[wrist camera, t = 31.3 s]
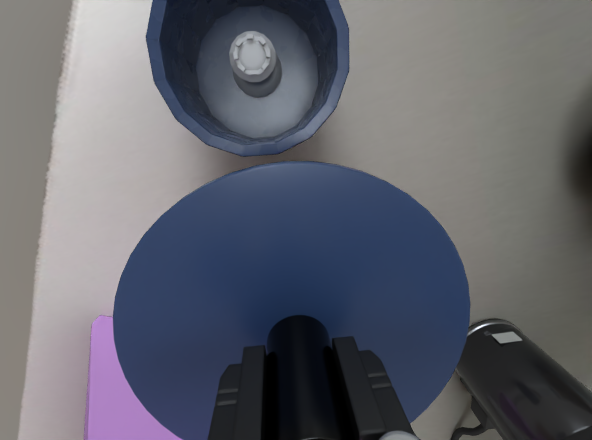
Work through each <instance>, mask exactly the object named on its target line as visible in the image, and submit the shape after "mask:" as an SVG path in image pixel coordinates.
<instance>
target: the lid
mask: <svg viewBox="0 0 592 440" xmlns="http://www.w3.org/2000/svg"><path fill="white" fill-rule="evenodd" d="M469 322H470V296H469V287H468V281H467V278H466V274H465V270H464V266H463V263H462V261H461V259H460V257H459V254H458V252H457V250H456V248H455V245H454V244H453V242H452V241H451V239H450V238H449V236H448V234H447V233H446V231H445V230H444V228H443V227H442V226H441V225H440V223H439V222H438V221H437V220H436V219H435V218H434V217H433V216H432V215H431V213H430V212H429V211H428V210H427V209H426V208H424V207H423V206H422V205H421V204H419V203H418V202H417V201H416V200H415V199H413V198H412V197H411V196H410V195H408V194H407V193H405V192H403V191H401V190H400V189H398V188H396V187H395V186H393V185H391V184H390V183H388V182H386V181H384V180H382V179H380V178H377V177H375V176H373V175H370V174H368V173H365V172H363V171H360V170H356V169H353V168H349V167H345V166H341V165H337V164H330V163H322V162H314V161H283V162H276V163H269V164H262V165H256V166H252V167H249V168H245V169H242V170H238V171H235V172H231V173H229V174H227V175H224V176H222V177H220V178H217V179H215V180H213V181H210V182H208V183H206V184H204V185H203V186H201V187H199V188H198V189H196V190H195V191H193V192H191V193H190V194H188V195H186V196H185V197H183V198H182V199H181V200H180V201H178V202H177V203H176V204H175V205H174V206H172V207H171V208H170V209H169V210H168V211H166V212H165V213H164V214H163V215H162V216H161V217H160V218H159V219H158V220H157V221H156V222H155V223H154V224H153V225H152V226H151V228H150V229H149V230H148V231H147V232H146V233H145V234H144V235H143V237H142V238H141V240H140V241H139V243H138V244H137V246H136V247H135V249H134V250H133V252H132V253H131V255H130V257H129V259H128V262H127V264H126V266H125V268H124V270H123V272H122V275H121V278H120V281H119V285H118V288H117V292H116V296H115V302H114V311H113V334H114V343H115V348H116V352H117V357H118V361H119V363H120V366H121V368H122V371H123V374H124V376H125V379H126V380H127V382H128V384H129V386H130V387H131V389H132V391H133V393H134V394H135V396H136V397H137V398H138V400H139V401H140V402H141V404H142V405H143V406H144V407H145V409H146V410H147V411H148V412H149V413H150V414H151V415H152V416H153V417H154V418H155V419H156V420H157V421H158V422H159V423H160V424H161V425H162V426H164V427H165V428H166V429H168V430H169V431H170V432H172V433H173V434H174V435H176V436H177V437H179V438H180V439H182V440H208V435H209V430H210V425H211V420H212V416H213V411H214V406H215V401H216V396H217V393H218V392H217V391H218V386H219V381H220V377H221V376H222V374H223V373H224V371H225V370H226V368H227V367H228V365H231V364H240V363H242V356H243V349H244V347H249V346H258V345H265V348H266V355H267V362H266V399H265V436H264V440H355V436H354V432H353V428H352V424H351V421H350V417H349V413H348V409H347V405H346V401H345V397H344V393H343V389H342V385H341V381H340V378H339V374H338V370H337V366H336V362H335V358H334V354H333V350H332V338H337V337H346V336H353V337H354V339H355V342H356V344H357V347H358V350H359V351H363V350H371V351H372V352H373V353H374V354H375V355H376V356H378V357H379V358H380V359H381V361H382V363H383V365H384V367H385V370H386V372H387V375H388V376H389V378H390V381H391V383H392V387H394V390H395V392H396V394H397V396H398V399H399V401H400V403H401V405H402V407H403V410H404V412H405V414H406V416H407V419H408V421H409V423H411V422H413V421H414V420H415V419H416V418H417V417H418V416H419V415H420V414H421V413H423V412H424V411H425V410H426V409H427V408H428V407H429V406H430V404H431V403H432V402H433V401H434V400H435V399H436V397H437V396H438V395H439V394H440V393H441V391H442V390H443V388H444V387H445V385H446V384H447V382H448V381H449V379H450V378H451V376H452V374H453V372H454V370H455V368H456V366H457V364H458V362H459V360H460V357H461V354H462V351H463V348H464V346H465V343H466V338H467V333H468V328H469Z"/></svg>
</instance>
